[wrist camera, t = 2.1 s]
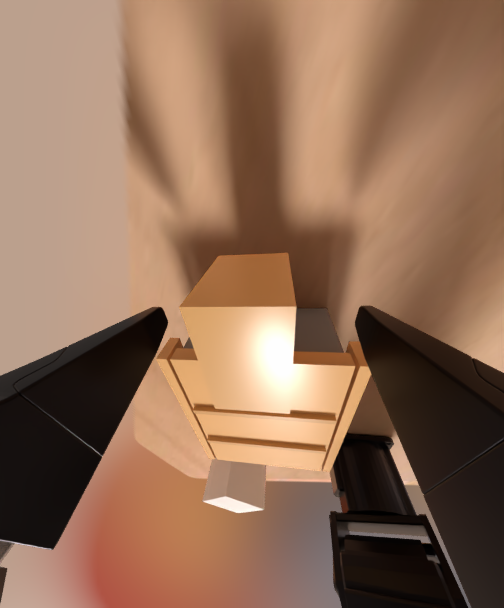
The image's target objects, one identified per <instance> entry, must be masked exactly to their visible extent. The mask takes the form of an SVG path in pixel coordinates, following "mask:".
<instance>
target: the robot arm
mask: <svg viewBox="0 0 504 608" xmlns="http://www.w3.org/2000/svg"><path fill="white" fill-rule="evenodd" d="M167 325H168V320H167V317H166V315H165V312H164V310H163V308H161V307H152V308H149V309H147V310H145V311H143V312H141V313H139V314H136V315H134V316H132V317H130V318H128V319H126V320H123V321H121V322H119V323H117V324H115V325H113V326H111V327H108V328H106V329H104V330H102V331H100V332H98V333H95V334H93V335H91V336H89V337H87V338H84V339H82V340H80V341H78V342H76V343H74V344H71V345H69V346H68V347H65V348H63V349H61V350H58V351H56V352H54V353H52V354H50V355H47V356H45V357H43V358H41V359H39V360H36V361H34V362H32V363H29V364H27V365H25V366H22V367H20V368H18V369H15V370H13V371H10V372H8V373H6V374H3V375H1V376H0V563H1V562H2V560H3V559H4V557H5V556H6V555H7V554H8V552H9V551H10V549H11V548H12V547H13V545H14V544H15V543H16V544H22V545H27V546H32V547H38V548H43V549H49V550H53V549H54V547H55V546H56V544H57V543H58V541H59V539H60V537H61V535H62V533H63V532H64V530H65V528H66V526H67V524H68V522H69V520H70V518H71V516H72V514H73V512H74V510H75V509H76V507H77V505H78V503H79V501H80V499H81V497H82V495H83V493H84V491H85V489H86V487H87V485H88V484H89V482H90V480H91V478H92V476H93V474H94V472H95V470H96V468H97V466H98V464H99V462H100V461H101V458H102V456H103V454H104V453H105V451H106V449H107V447H108V445H109V443H110V441H111V439H112V437H113V435H114V433H115V432H116V430H117V428H118V426H119V424H120V422H121V420H122V418H123V416H124V414H125V412H126V410H127V409H128V407H129V405H130V403H131V401H132V399H133V397H134V395H135V393H136V391H137V389H138V387H139V386H140V384H141V382H142V380H143V378H144V376H145V374H146V372H147V370H148V368H149V366H150V364H151V363H152V361H153V359H154V357H155V355H156V353H157V351H158V348H159V346H160V343H161V341H162V338H163V336H164V333H165V331H166V328H167ZM355 327H356V330H357V334H358V337H359V341H360V344H361V347H362V351H363V354H364V357H365V360H366V362H367V365H368V367H369V369H370V372H371V374H372V376H373V379H374V381H375V383H376V386H377V388H378V390H379V393H380V395H381V397H382V400H383V402H384V404H385V407H386V409H387V411H388V414H389V416H390V418H391V421H392V423H393V425H394V428H395V430H396V432H397V435H398V437H399V439H400V442H401V444H402V446H403V449H404V451H405V453H406V456H407V458H408V460H409V463H410V465H411V467H412V470H413V472H414V474H415V477H416V479H417V481H418V484H419V486H420V488H421V491H422V493H423V494H424V498H425V500H426V503H427V505H428V507H429V510H430V512H431V514H432V517H433V519H434V521H435V524H436V526H437V528H438V531H439V533H440V535H441V538H442V540H443V542H444V545H445V547H446V549H447V552H448V554H449V556H450V559H451V561H452V563H453V566H454V568H455V570H456V573H457V575H458V577H459V580H460V582H461V584H462V587H463V589H464V591H465V594H466V596H467V598H468V601H469V603H470V605H471V608H504V373H503V372H501V371H499V370H497V369H495V368H493V367H491V366H489V365H487V364H485V363H483V362H481V361H479V360H477V359H475V358H472V357H471V356H469V355H467V354H465V353H463V352H461V351H459V350H457V349H455V348H453V347H451V346H449V345H447V344H445V343H443V342H441V341H439V340H438V339H436V338H434V337H432V336H430V335H428V334H426V333H424V332H422V331H420V330H418V329H416V328H414V327H412V326H410V325H408V324H406V323H404V322H402V321H400V320H398V319H396V318H394V317H392V316H390V315H389V314H387V313H385V312H383V311H381V310H379V309H377V308H375V307H373V306H361V307H360V308H359V310H358V314H357V317H356V321H355ZM393 445H394V443H393V440H392V439H391V438H382V437H370V436H358V435H345V437H344V440H343V442H342V445H341V447H340V449H339V452H338V454H337V456H336V459H335V461H334V464H333V466H332V468H331V471H330V476H331V482H332V487H333V493H334V495H335V496H336V497H340V503H341V508H342V513H337V512H336V511H331V512H330V513H331V515H329V518H330V527H331V538H332V549H333V582H334V588H335V591H336V592H337V594H338V596H339V598H340V601H341V605H342V608H468V606H467V604H466V602H465V600H464V597H463V595H462V593H461V590H460V588H459V587H458V584H457V582H456V580H455V577H454V575H453V573H452V571H451V569H450V566H449V564H448V562H447V560H446V558H445V555H444V553H443V551H442V549H441V547H440V545H439V542H438V540H437V538H436V536H435V534H434V531H433V529H432V527H431V525H430V523H429V520H428V518H427V516H426V514H419V515H418V516H417V515H416V512H415V510H414V508H413V505H412V503H411V500H410V498H409V496H408V493H407V491H406V488H405V486H404V484H403V481H402V479H401V476H400V474H399V472H398V469H397V467H396V464H395V462H394V460H393V457H392V455H391V452H390V449H391V447H392V446H393ZM349 531H355V532H370V533H384V534H399V535H413V536H427V537H428V539H429V541H430V543H421V541H420V540H413V539H400V538H387V537H373V536H359V535H350V533H349ZM6 572H7V568H4V567H0V602H1V597H2V592H3V587H4V582H5V577H6Z"/></svg>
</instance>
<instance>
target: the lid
mask: <svg viewBox="0 0 504 608" xmlns="http://www.w3.org/2000/svg"><path fill="white" fill-rule="evenodd" d="M179 308H180V311H181V314H182V317H183V319H184V322H185V325H186V328H187V331H188V334H189V336H190V339H191V342H192V345H193V348H194V349H189V348H183V346H182V343H181V341H180V338H170V339H169V340H168V342H167V343H166V345H165V346H164V348H163V349H162V351H161V352H160V354H159V355H158V357H157V358H156V360H157V362H158V364H159V366H160V367H161V369H162V371H163V373H164V375H165V377H166V379H167V381H168V382H169V384H170V386H171V388H172V390H173V392H174V394H175V396H176V398H177V399H178V401H179V403H180V405H181V407H182V409H183V411H184V413H185V414H186V416H187V418H188V420H189V422H190V424H191V426H192V428H193V430H194V431H195V433H196V435H197V437H198V439H199V441H200V443H201V445H202V447H203V448H204V450H205V452H206V454H207V456H208V458H209V459H215V458H217V460H225V461H234V462H244V463H253V464H262V465H271V466H280V467H289V468H298V469H307V470H316V471H320V470H321V467H322V470H323V471H325V472H330V471H331V468H332V466H333V464H334V461H335V459H336V456H337V454H338V452H339V449H340V447H341V445H342V442H343V440H344V437H345V435H346V433H347V430H348V428H349V426H350V423H351V421H352V419H353V416H354V414H355V411H356V409H357V407H358V404H359V402H360V400H361V397H362V395H363V392H364V390H365V388H366V385H367V383H368V381H369V378H370V376H371V372H370V369H369V367H368V365H367V362H366V360H365V357H364V354H363V351H362V347H361V344H360V342H350V341H349V344H348V347H347V351H346V353H335V352H298V351H294V339H295V322H296V301H295V294H294V288H293V281H292V275H291V268H290V262H289V255H288V253H270V254H247V255H223V256H218V257H217V258H216V260H215V261H214V262H213V264H212V265H211V266H210V268H209V269H208V270H207V271H206V273H205V274H204V275H203V277H202V278H201V279H200V281H199V282H198V283H197V284H196V286H195V287H194V288H193V290H192V291H191V292H190V294H189V295H188V296H187V297H186V299H185V300H184V301H183V303H182V304H181V305H180V307H179Z"/></svg>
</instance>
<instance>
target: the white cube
mask: <svg viewBox="0 0 504 608" xmlns="http://www.w3.org/2000/svg"><path fill="white" fill-rule="evenodd" d="M265 480H266V465H262V464H253V463H244V462H234V461H225V460H217V458H215V459H212V462H211V466H210V471H209V475H208V479H207V484H206V488H205V493H204V497H203V502H206V503H209V504H212V505H215V506H218V507H221V508H224V509H227V510H230V511H234V512H237V513H242V512H249V511H258V510H264V506H265Z"/></svg>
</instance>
